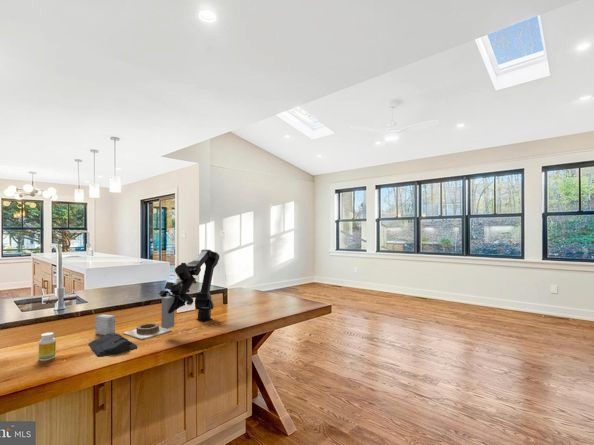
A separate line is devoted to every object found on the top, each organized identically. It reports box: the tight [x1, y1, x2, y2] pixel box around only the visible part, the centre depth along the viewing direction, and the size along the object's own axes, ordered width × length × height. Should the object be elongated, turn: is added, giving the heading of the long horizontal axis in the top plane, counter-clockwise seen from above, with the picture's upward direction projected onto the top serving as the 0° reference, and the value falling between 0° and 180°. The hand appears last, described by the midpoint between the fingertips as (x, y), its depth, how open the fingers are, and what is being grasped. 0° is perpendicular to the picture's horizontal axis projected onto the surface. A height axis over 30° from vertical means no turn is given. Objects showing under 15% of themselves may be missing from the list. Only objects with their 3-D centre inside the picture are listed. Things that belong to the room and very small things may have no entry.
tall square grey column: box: [160, 296, 175, 329], centre depth 154 cm, size 4×4×14 cm
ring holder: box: [122, 322, 173, 341], centre depth 161 cm, size 16×16×3 cm
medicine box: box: [94, 314, 116, 336], centre depth 159 cm, size 8×4×9 cm, turn 74°
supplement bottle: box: [37, 332, 57, 362], centre depth 128 cm, size 5×5×10 cm
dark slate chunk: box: [87, 333, 138, 358], centre depth 142 cm, size 15×22×5 cm
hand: (165, 312), depth 152 cm, fingers closed on tall square grey column, 4 cm apart
